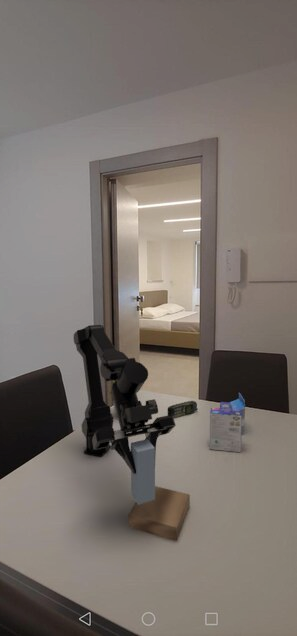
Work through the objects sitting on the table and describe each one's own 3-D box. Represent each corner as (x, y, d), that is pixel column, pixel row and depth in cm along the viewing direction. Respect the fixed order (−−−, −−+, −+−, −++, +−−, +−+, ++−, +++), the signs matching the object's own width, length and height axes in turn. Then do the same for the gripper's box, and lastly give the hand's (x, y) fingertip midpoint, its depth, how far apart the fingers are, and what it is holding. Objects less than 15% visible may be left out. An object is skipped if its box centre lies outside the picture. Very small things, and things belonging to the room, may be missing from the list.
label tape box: (227, 423, 121) (228, 391, 119) (238, 423, 120) (239, 391, 119) (233, 434, 112) (233, 401, 110) (244, 434, 112) (245, 401, 110)
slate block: (137, 504, 68) (137, 452, 66) (131, 493, 72) (130, 442, 70) (155, 499, 70) (154, 447, 68) (147, 488, 73) (147, 439, 72)
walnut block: (128, 528, 71) (128, 514, 70) (147, 497, 81) (146, 484, 81) (176, 542, 67) (176, 527, 66) (189, 507, 77) (189, 494, 77)
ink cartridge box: (240, 444, 106) (241, 401, 104) (241, 453, 100) (242, 408, 98) (209, 441, 107) (210, 399, 106) (209, 449, 102) (210, 406, 100)
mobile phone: (170, 408, 123) (200, 400, 130) (165, 406, 126) (195, 397, 133) (170, 421, 124) (200, 411, 131) (166, 418, 126) (196, 409, 134)
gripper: (93, 394, 68) (109, 472, 59) (172, 382, 75) (196, 450, 66) (86, 415, 76) (99, 485, 67) (158, 402, 83) (177, 464, 75)
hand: (144, 471), depth 69 cm, fingers closed on slate block, 4 cm apart
